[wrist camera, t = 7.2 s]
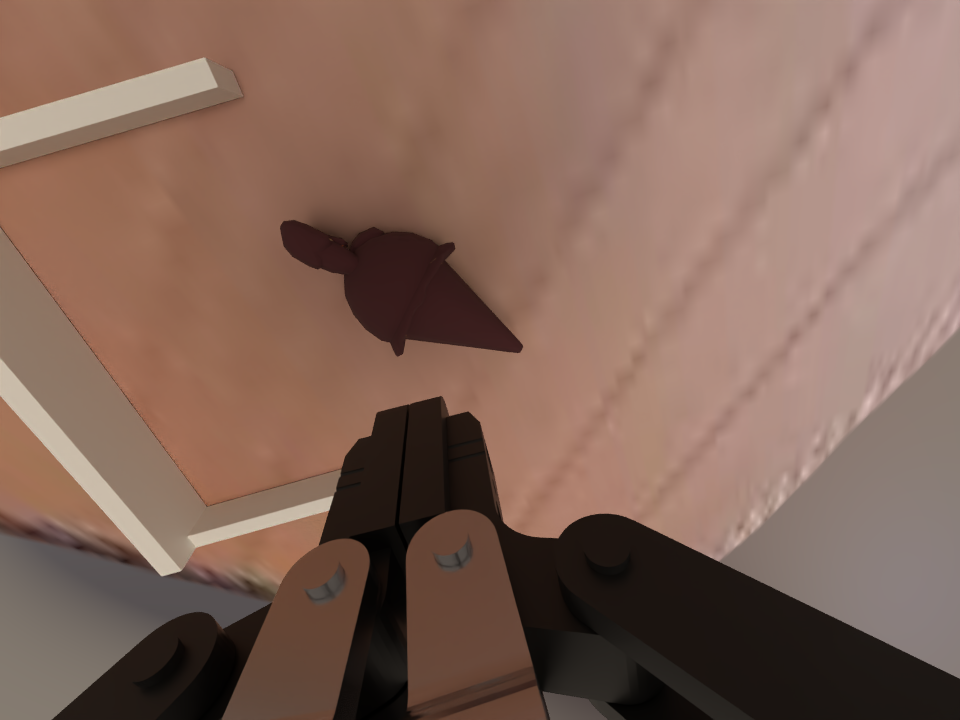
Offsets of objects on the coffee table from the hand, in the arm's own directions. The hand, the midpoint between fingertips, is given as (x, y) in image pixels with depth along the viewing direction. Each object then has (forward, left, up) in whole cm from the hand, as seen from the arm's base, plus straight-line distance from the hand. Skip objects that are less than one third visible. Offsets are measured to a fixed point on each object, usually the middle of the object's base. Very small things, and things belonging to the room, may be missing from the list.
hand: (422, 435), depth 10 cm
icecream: (+1, +1, -20) cm, 20 cm away
